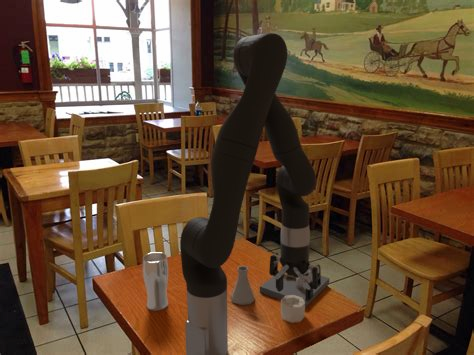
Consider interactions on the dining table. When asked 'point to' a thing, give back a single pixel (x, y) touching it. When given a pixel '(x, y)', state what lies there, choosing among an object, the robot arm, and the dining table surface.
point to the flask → (242, 288)
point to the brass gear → (288, 276)
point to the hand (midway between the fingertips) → (294, 294)
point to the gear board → (291, 288)
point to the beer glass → (156, 280)
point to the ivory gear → (292, 308)
